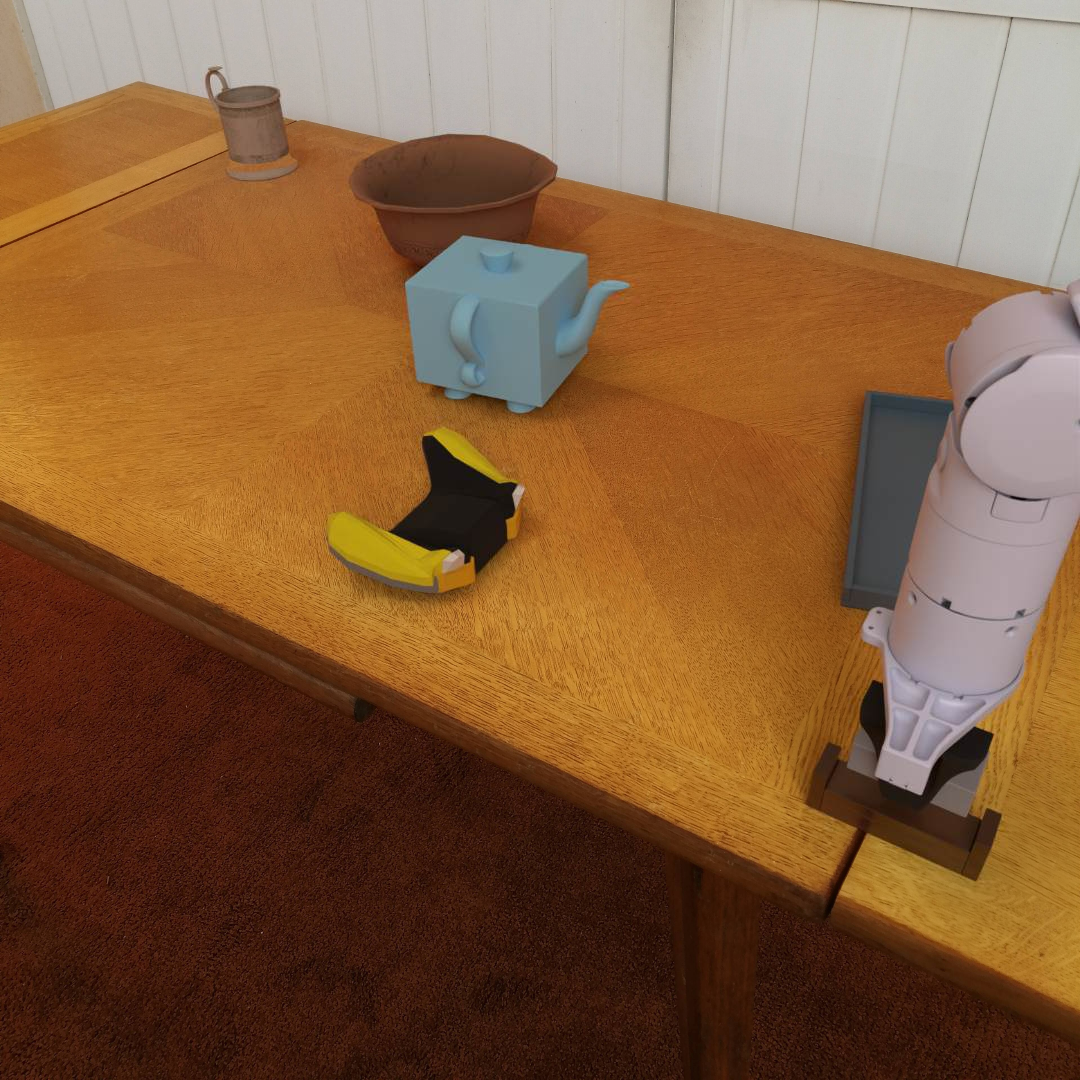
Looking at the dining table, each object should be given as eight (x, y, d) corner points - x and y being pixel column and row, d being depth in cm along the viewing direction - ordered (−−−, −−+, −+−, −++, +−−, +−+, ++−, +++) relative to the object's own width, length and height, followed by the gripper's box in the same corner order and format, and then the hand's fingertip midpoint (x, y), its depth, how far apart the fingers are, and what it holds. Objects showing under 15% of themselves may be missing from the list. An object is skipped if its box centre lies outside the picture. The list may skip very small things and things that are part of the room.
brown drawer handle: (987, 847, 53) (1002, 813, 51) (976, 882, 51) (991, 848, 50) (820, 774, 57) (828, 741, 55) (805, 805, 55) (812, 771, 53)
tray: (985, 422, 84) (990, 404, 83) (998, 633, 65) (1005, 614, 64) (862, 406, 87) (866, 389, 85) (840, 605, 68) (844, 587, 66)
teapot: (404, 410, 88) (385, 273, 80) (483, 332, 99) (474, 204, 91) (593, 453, 82) (594, 309, 74) (655, 365, 93) (662, 231, 85)
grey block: (981, 775, 51) (991, 748, 49) (965, 818, 49) (976, 791, 47) (864, 728, 53) (871, 701, 52) (845, 767, 51) (852, 741, 50)
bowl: (547, 220, 121) (544, 127, 114) (573, 301, 104) (572, 197, 97) (364, 234, 119) (350, 140, 112) (360, 319, 102) (343, 214, 95)
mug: (312, 165, 139) (296, 72, 131) (254, 185, 133) (233, 90, 125) (251, 145, 146) (232, 56, 139) (193, 163, 141) (170, 72, 133)
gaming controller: (322, 582, 71) (438, 629, 67) (308, 521, 68) (429, 567, 64) (442, 472, 81) (549, 508, 77) (435, 415, 77) (547, 448, 73)
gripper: (929, 462, 49) (879, 656, 58) (826, 646, 40) (785, 844, 48) (1085, 506, 46) (1007, 703, 55) (1013, 715, 37) (933, 913, 45)
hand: (912, 773), depth 51 cm, fingers closed on grey block, 3 cm apart
